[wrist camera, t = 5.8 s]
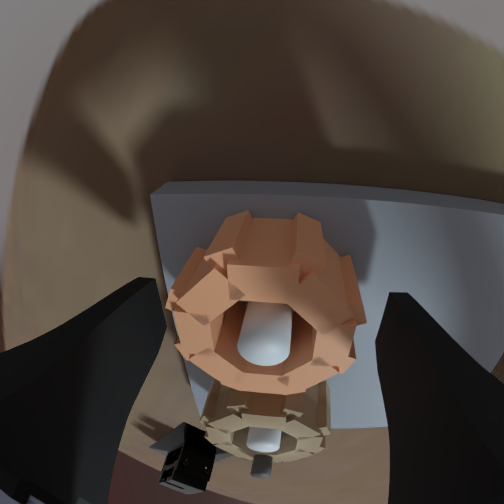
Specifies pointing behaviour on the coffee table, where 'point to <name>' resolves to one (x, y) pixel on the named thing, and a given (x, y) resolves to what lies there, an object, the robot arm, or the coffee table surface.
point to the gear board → (366, 269)
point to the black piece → (187, 459)
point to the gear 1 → (272, 291)
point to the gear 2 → (267, 422)
